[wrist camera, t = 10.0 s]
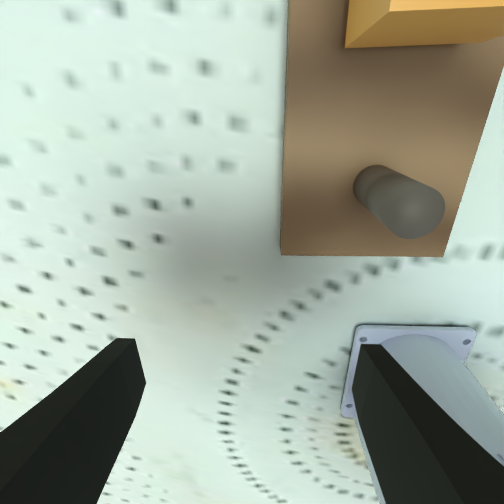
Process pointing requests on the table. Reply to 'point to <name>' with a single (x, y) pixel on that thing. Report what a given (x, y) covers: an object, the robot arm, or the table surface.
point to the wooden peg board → (377, 137)
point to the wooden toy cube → (422, 22)
